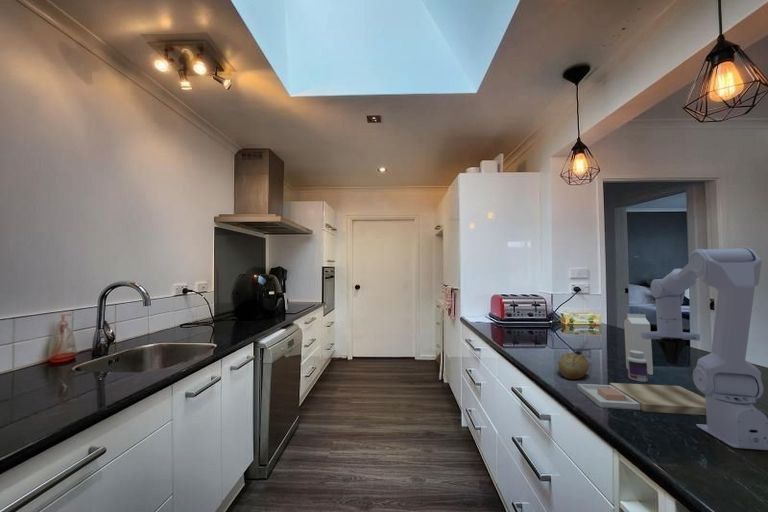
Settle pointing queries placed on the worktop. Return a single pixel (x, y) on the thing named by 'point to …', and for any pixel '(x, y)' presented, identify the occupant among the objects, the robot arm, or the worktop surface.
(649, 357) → the milk
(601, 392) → the terracotta tile
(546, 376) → the worktop surface
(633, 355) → the pill bottle
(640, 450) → the worktop surface
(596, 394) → the tray
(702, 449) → the worktop surface
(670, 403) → the chopping board
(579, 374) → the bread roll
